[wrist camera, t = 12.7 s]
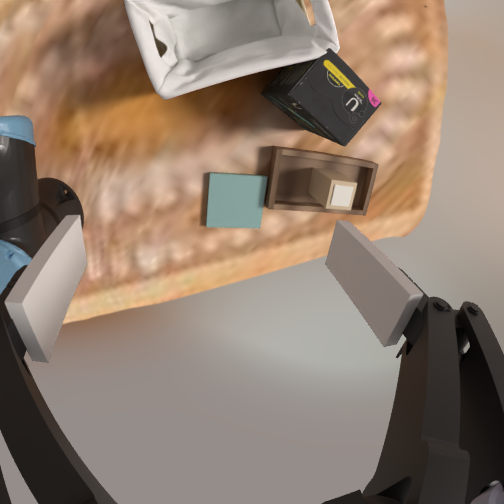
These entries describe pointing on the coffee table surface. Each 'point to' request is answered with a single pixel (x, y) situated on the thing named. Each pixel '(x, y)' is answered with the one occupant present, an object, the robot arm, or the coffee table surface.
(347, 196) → the kraft box
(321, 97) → the tampon box
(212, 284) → the coffee table surface
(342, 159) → the walnut bin
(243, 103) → the coffee table surface
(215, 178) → the teal pad
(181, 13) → the storage basket
